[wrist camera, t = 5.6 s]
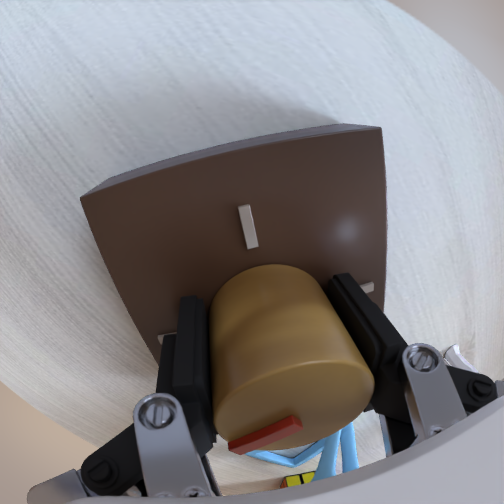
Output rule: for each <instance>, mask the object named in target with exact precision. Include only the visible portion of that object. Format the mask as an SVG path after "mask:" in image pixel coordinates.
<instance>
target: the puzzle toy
mask: <svg viewBox="0 0 504 504" xmlns="http://www.w3.org/2000/svg"><path fill="white" fill-rule="evenodd" d="M314 475H315V472H314V471H313V472H308V473H303V474H301V475H300V476H299V474H298V475H293V476H287V477H285V478H284V480H283V482H282V484H281V486H280V488H279V489H281V488H286V487H291V486H296V485H300V484H305V483H309V482H311V480H312V479H313V477H314Z"/></svg>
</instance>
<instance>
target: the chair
mask: <svg viewBox="0 0 504 504" xmlns="http://www.w3.org/2000/svg"><path fill="white" fill-rule="evenodd" d="M339 441H340V442H341V451H342V467H343V473H345V472H348V471H352V470H355V469H358V468H359V466H358V459H357V451H356V443H355V434H354V428H353V424H352V422H351V423H349V424H348V425H347V426H345V427H344V428H342V429H341V430H339V431H337V432H336V433H334V434H332V435H330V436H328V437H326V438H323V439H321V440H319V441H318V442H317V443H315V444H314V445H312V446H311V447H310V448H308V449H307V450H305V451H304V452H303V453H301V454H300V455H298V456H297V457H295V458H293V459H291V458H287V457H284V456H280V455H277V454H274V453H271V452H268V450H253V451H251V452H248V453H245V454H246V455H248V456H251V457H254V458H257V459H261V460H264V461H268V462H271V463H275V464H279V465H283V466H287V467H291V468H294V467H297V466H299V465H301V464H303V463H305V462H307V461H308V460H310V459H312V458H313V457H315V456H316V455H318V454H319V453H321V452H322V454H321V458H320V461H319V464H318V467H317V470H316V472H315V475H314V477H313V479H312V480H311V482H313V481H317V480H321V479H325V478H328V477H332V476H335V475H336V472H335V466H336V458H337V452H338V446H339Z"/></svg>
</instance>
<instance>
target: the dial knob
mask: <svg viewBox="0 0 504 504" xmlns="http://www.w3.org/2000/svg"><path fill="white" fill-rule="evenodd" d="M209 353H210V377H211V397H212V413H213V424H214V427H215V429H216V431H217V432H218V434H219V435H220V436H221V437H222V438H223V439H225V440H226V441H228V449H229V451H231V452H234V453H236V454H239V455H242V454H245V453H248V452H251V451H253V450H283V449H290V448H295V447H299V446H303V445H307V444H310V443H313V442H316V441H318V440H321V439H323V438H326V437H328V436H330V435H332V434H334V433H336V432H337V431H339V430H341V429H342V428H344V427H345V426H347V425H348V424H349V423H351V422H352V421H353V420H354V419H355V418H357V417H358V416H359V415H360V414H361V413H362V412H363V410H364V409H365V408H366V407H367V405H368V404H369V402H370V400H371V398H372V396H373V393H374V386H375V382H374V377H373V375H372V373H371V371H370V369H369V368H368V366H367V364H366V362H365V361H364V359H363V357H362V355H361V354H360V352H359V350H358V348H357V347H356V345H355V343H354V342H353V340H352V338H351V336H350V335H349V333H348V331H347V330H346V328H345V326H344V325H343V323H342V321H341V320H340V318H339V316H338V315H337V313H336V311H335V310H334V308H333V306H332V305H331V303H330V301H329V300H328V298H327V296H326V295H325V293H324V292H323V290H322V288H321V287H320V285H319V284H318V282H317V281H316V280H315V279H314V278H313V277H312V276H311V275H309V274H308V273H306V272H305V271H303V270H300V269H298V268H295V267H292V266H288V265H281V264H270V265H262V266H257V267H254V268H251V269H248V270H245V271H243V272H241V273H239V274H237V275H236V276H234V277H233V278H231V279H230V280H229V281H228V282H226V283H225V284H224V285H223V286H222V287H221V288H220V290H219V291H218V292H217V294H216V295H215V297H214V299H213V301H212V303H211V306H210V309H209Z"/></svg>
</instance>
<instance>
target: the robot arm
mask: <svg viewBox="0 0 504 504" xmlns="http://www.w3.org/2000/svg"><path fill="white" fill-rule="evenodd" d="M327 298H328V300H329V301H330V303H331V305H332V306H333V308H334V310H335V311H336V313H337V315H338V316H339V318H340V320H341V321H342V323H343V325H344V326H345V328H346V330H347V331H348V333H349V335H350V336H351V338H352V340H353V342H354V343H355V345H356V347H357V348H358V350H359V352H360V354H361V355H362V357H363V359H364V361H365V362H366V364H367V366H368V368H369V369H370V371H371V373H372V375H373V377H374V382H375V386H374V393H373V396H372V398H371V400H370V402H369V404H368V405H367V407H366V408H365V409H364V410H363V412H367V411H370V410H373V409H374V410H375V412H376V413H378V414H379V418H380V423H381V429H382V434H383V440H384V446H385V452H386V458H384V459H382V460H379V461H377V462H374V463H372V464H369V465H366V466H363V467H360V468H358V469H355V470H352V471H348V472H345V473H342V474H339V475H335V476H332V477H328V478H325V479H321V480H317V481H313V482H309V483H305V484H300V485H296V486H291V487H286V488H281V489H275V490H270V491H263V492H256V493H249V494H240V495H230V496H222V493H221V491H220V488H219V486H218V483H217V481H216V478H215V476H214V473H213V471H212V468H211V465H210V463H209V460H208V457H207V455H206V453H207V452H208V451H209V450H210V449H211V448H212V447H213V443H217V441H216V434H218V432H217V431H216V429H215V427H214V424H213V413H212V397H211V377H210V353H209V324H208V320H207V315H206V311H205V306H204V301H203V298H200V299H197V296H196V295H191V296H183V297H181V299H180V306H179V315H178V324H177V333H176V334H167V335H164V337H163V341H162V348H161V355H160V363H159V370H158V378H157V387H156V393H153V394H150V395H147V396H145V397H144V398H142V399H141V400H140V401H139V402H138V403H137V404H136V406H135V409H134V411H133V420H134V423H133V424H132V425H130V426H129V427H128V428H126V429H125V430H124V431H122V432H121V433H120V434H118V435H117V436H116V437H114V438H113V439H112V440H110V441H109V442H108V443H106V444H105V445H103V446H102V447H101V448H99V449H98V450H97V451H95V452H94V453H93V454H91V455H90V456H88V457H87V458H86V459H85V460H84V462H83V464H82V466H81V469H79V470H77V471H76V470H75V469H72V470H70V471H68V472H65V473H63V474H61V475H59V476H56V477H54V478H52V479H50V480H47V481H45V482H43V483H40V484H38V485H35V486H34V487H32V488H31V489H30V490H29V492H28V495H27V503H28V504H504V381H498V380H496V381H495V383H494V382H493V381H492V380H491V379H490V378H489V377H488V376H485V375H483V374H479V373H476V372H472V371H468V370H464V369H460V368H456V367H453V366H449V365H446V364H445V362H444V360H443V358H442V356H441V354H440V353H439V351H438V350H436V349H435V348H434V347H432V346H430V345H428V344H424V343H415V344H412V345H410V346H408V345H407V343H406V342H405V341H404V339H403V338H402V337H401V335H400V334H399V333H398V331H397V330H396V329H395V327H394V326H393V325H392V323H391V322H390V321H389V320H388V318H387V317H386V316H385V314H384V313H383V312H382V311H381V309H380V308H379V307H378V305H377V304H376V303H375V302H372V301H371V299H370V298H369V297H368V296H367V294H366V293H365V292H364V291H363V289H362V288H361V287H360V286H359V284H358V283H357V282H356V281H355V279H354V278H353V277H352V276H351V275H350V273H341V274H335V275H333V278H332V279H330V280H329V281H328V294H327Z"/></svg>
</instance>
